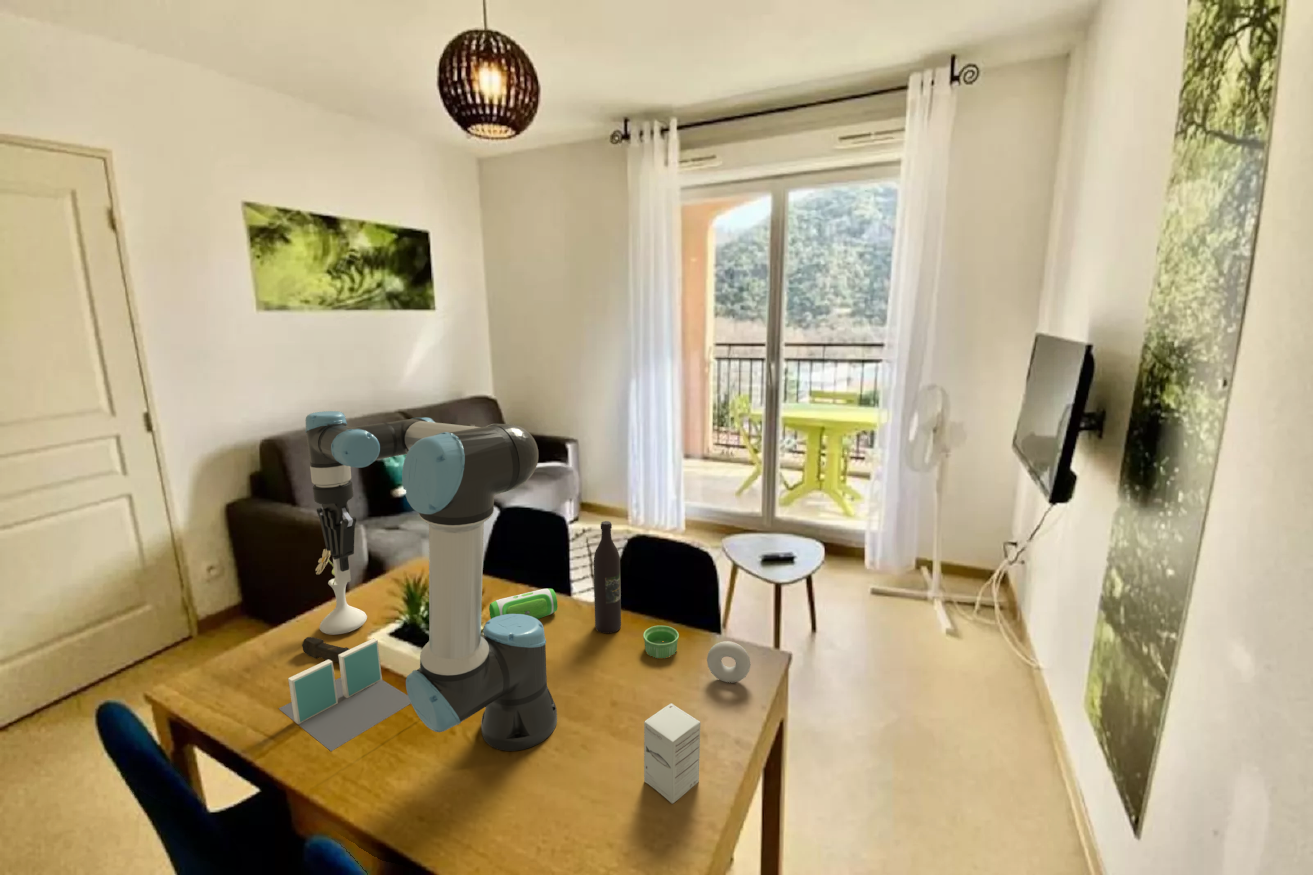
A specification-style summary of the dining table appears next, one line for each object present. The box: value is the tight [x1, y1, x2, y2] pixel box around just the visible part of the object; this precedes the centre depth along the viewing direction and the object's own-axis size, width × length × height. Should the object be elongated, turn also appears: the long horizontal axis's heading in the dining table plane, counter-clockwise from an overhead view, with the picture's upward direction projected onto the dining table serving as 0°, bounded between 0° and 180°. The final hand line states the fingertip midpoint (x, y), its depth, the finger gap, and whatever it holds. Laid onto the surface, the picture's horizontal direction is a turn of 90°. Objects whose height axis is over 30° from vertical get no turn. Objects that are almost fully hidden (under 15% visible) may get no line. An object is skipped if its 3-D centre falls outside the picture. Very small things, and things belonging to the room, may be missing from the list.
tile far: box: [338, 638, 383, 698], centre depth 127 cm, size 2×8×10 cm, turn 146°
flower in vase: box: [315, 548, 368, 636], centre depth 151 cm, size 13×11×25 cm
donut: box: [706, 640, 752, 683], centre depth 130 cm, size 10×4×10 cm, turn 76°
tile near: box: [287, 659, 338, 725], centre depth 119 cm, size 2×8×10 cm, turn 146°
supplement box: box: [643, 702, 701, 805], centre depth 101 cm, size 7×7×13 cm
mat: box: [278, 676, 412, 752], centre depth 122 cm, size 22×18×1 cm
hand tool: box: [301, 636, 351, 664], centre depth 140 cm, size 19×4×5 cm, turn 68°
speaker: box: [488, 588, 559, 620], centre depth 158 cm, size 18×7×8 cm, turn 120°
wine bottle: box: [593, 520, 622, 634], centre depth 151 cm, size 7×7×30 cm
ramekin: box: [642, 625, 680, 659], centre depth 143 cm, size 9×9×4 cm
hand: (343, 582), depth 128 cm, fingers closed
